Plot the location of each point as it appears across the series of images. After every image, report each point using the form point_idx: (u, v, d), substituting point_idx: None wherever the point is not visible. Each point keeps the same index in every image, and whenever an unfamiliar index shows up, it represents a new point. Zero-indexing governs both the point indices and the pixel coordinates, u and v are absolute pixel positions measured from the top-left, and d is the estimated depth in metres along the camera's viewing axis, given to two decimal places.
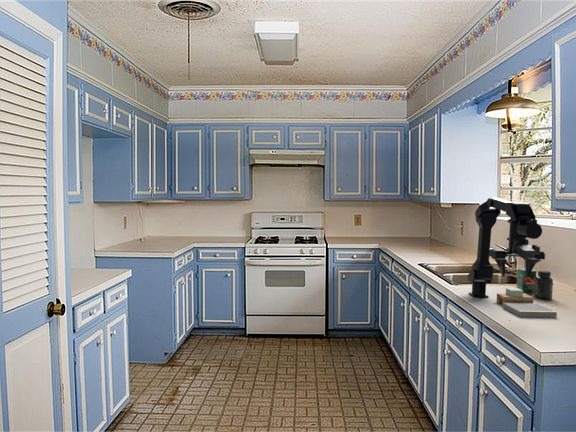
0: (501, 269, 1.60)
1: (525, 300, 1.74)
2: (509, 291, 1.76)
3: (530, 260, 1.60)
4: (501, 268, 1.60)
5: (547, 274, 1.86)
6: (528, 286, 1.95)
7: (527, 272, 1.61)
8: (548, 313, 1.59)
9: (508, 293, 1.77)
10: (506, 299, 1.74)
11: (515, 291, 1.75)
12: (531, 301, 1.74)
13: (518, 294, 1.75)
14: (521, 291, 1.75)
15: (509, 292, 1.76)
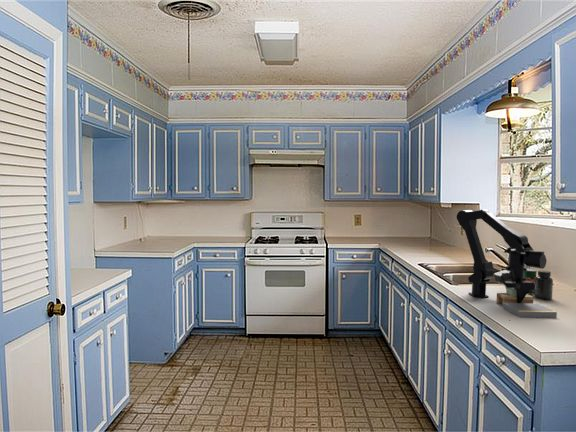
0: None
1: (525, 300, 1.74)
2: (510, 291, 1.76)
3: None
4: None
5: (547, 274, 1.86)
6: None
7: None
8: (548, 313, 1.59)
9: (509, 293, 1.77)
10: (506, 299, 1.74)
11: None
12: (531, 301, 1.74)
13: None
14: None
15: (510, 292, 1.76)
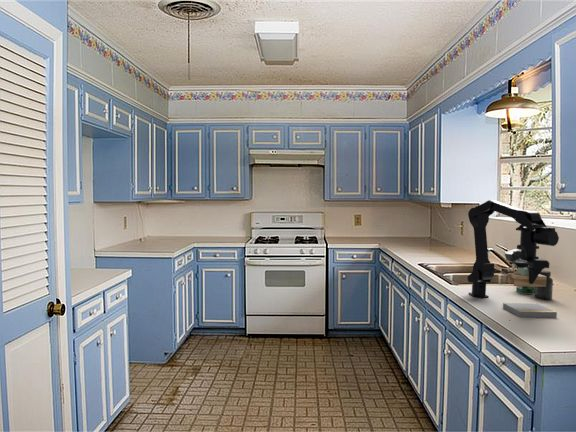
0: None
1: (538, 280, 1.65)
2: (521, 270, 1.67)
3: None
4: None
5: (547, 274, 1.86)
6: (528, 286, 1.95)
7: None
8: (548, 313, 1.59)
9: (520, 272, 1.68)
10: (518, 278, 1.65)
11: (528, 270, 1.66)
12: (544, 280, 1.65)
13: None
14: None
15: (521, 271, 1.67)
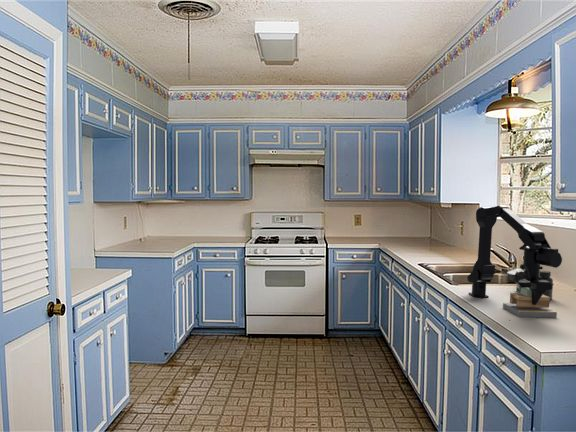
0: None
1: (541, 300, 1.62)
2: (524, 291, 1.64)
3: None
4: None
5: (547, 274, 1.86)
6: None
7: None
8: (548, 313, 1.59)
9: (523, 293, 1.65)
10: (521, 299, 1.62)
11: (531, 291, 1.63)
12: (547, 301, 1.62)
13: None
14: None
15: (524, 292, 1.64)
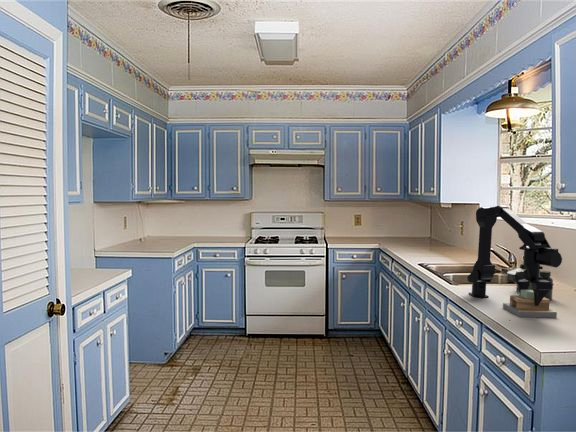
0: None
1: (541, 303, 1.62)
2: (524, 293, 1.64)
3: None
4: None
5: (547, 274, 1.86)
6: None
7: None
8: (548, 313, 1.59)
9: (523, 295, 1.65)
10: (520, 301, 1.62)
11: (531, 293, 1.63)
12: (547, 304, 1.62)
13: None
14: None
15: (524, 294, 1.64)
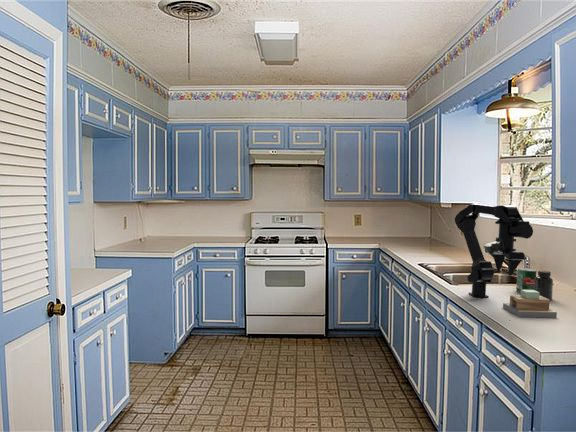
0: None
1: (541, 303, 1.62)
2: (524, 293, 1.64)
3: None
4: None
5: (547, 274, 1.86)
6: (528, 286, 1.95)
7: None
8: (548, 313, 1.59)
9: (523, 295, 1.65)
10: (520, 301, 1.62)
11: (531, 293, 1.63)
12: (547, 304, 1.62)
13: (534, 296, 1.63)
14: (537, 293, 1.63)
15: (524, 294, 1.64)
